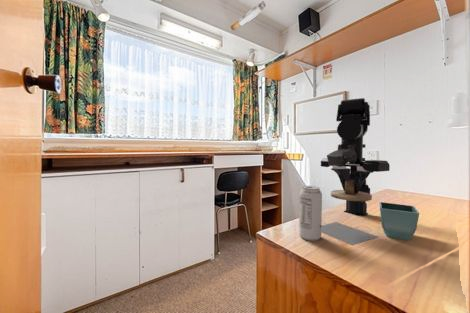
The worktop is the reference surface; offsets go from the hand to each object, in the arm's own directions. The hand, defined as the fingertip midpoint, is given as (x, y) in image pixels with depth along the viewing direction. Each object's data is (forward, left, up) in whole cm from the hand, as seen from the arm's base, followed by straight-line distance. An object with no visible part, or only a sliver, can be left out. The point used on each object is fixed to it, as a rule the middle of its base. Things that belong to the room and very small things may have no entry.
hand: (350, 192), depth 66 cm
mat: (-1, -2, -13) cm, 13 cm away
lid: (0, 0, -1) cm, 1 cm away
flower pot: (+8, +10, -13) cm, 18 cm away
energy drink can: (-3, -14, -13) cm, 19 cm away
